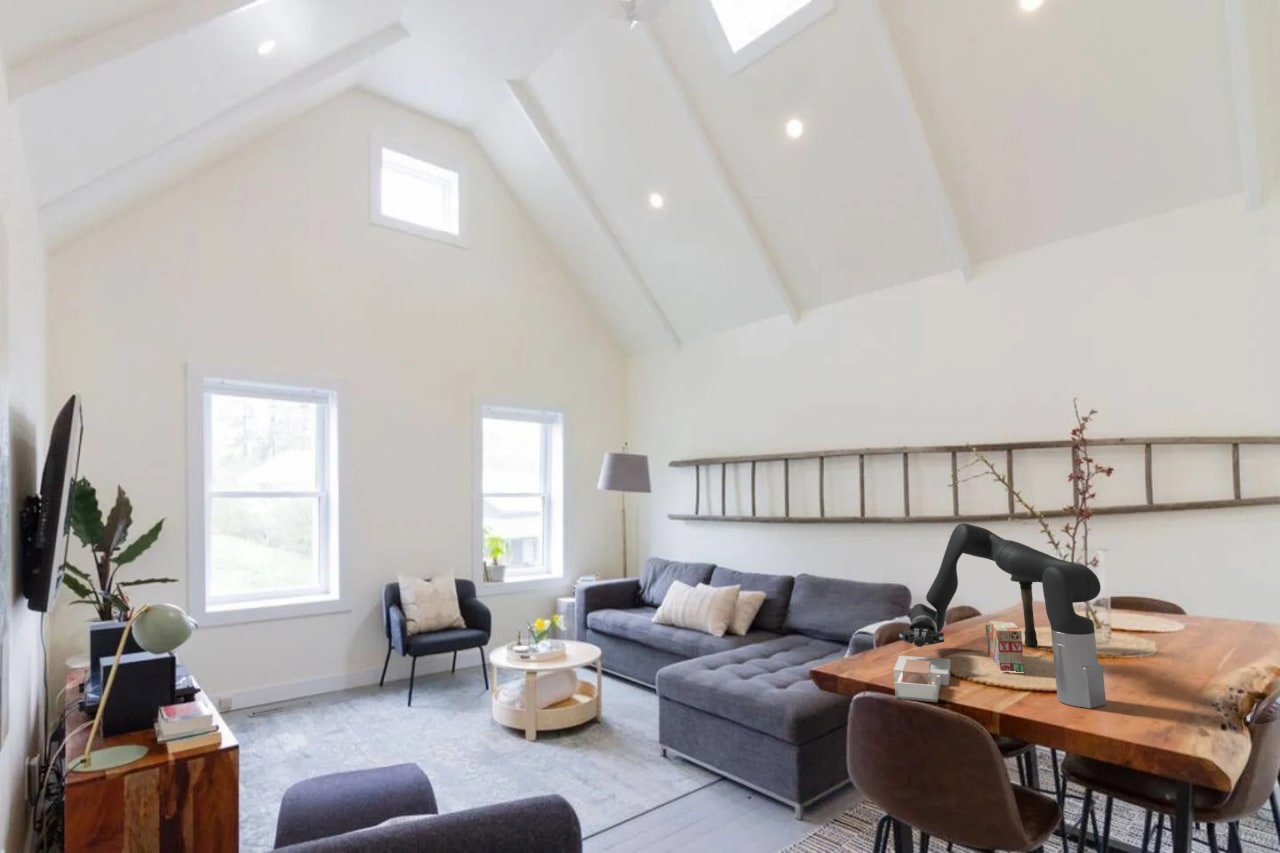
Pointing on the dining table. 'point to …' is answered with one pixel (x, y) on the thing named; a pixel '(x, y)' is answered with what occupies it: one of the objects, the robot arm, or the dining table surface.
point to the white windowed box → (937, 668)
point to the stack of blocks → (1005, 645)
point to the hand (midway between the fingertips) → (919, 643)
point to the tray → (917, 690)
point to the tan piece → (917, 672)
